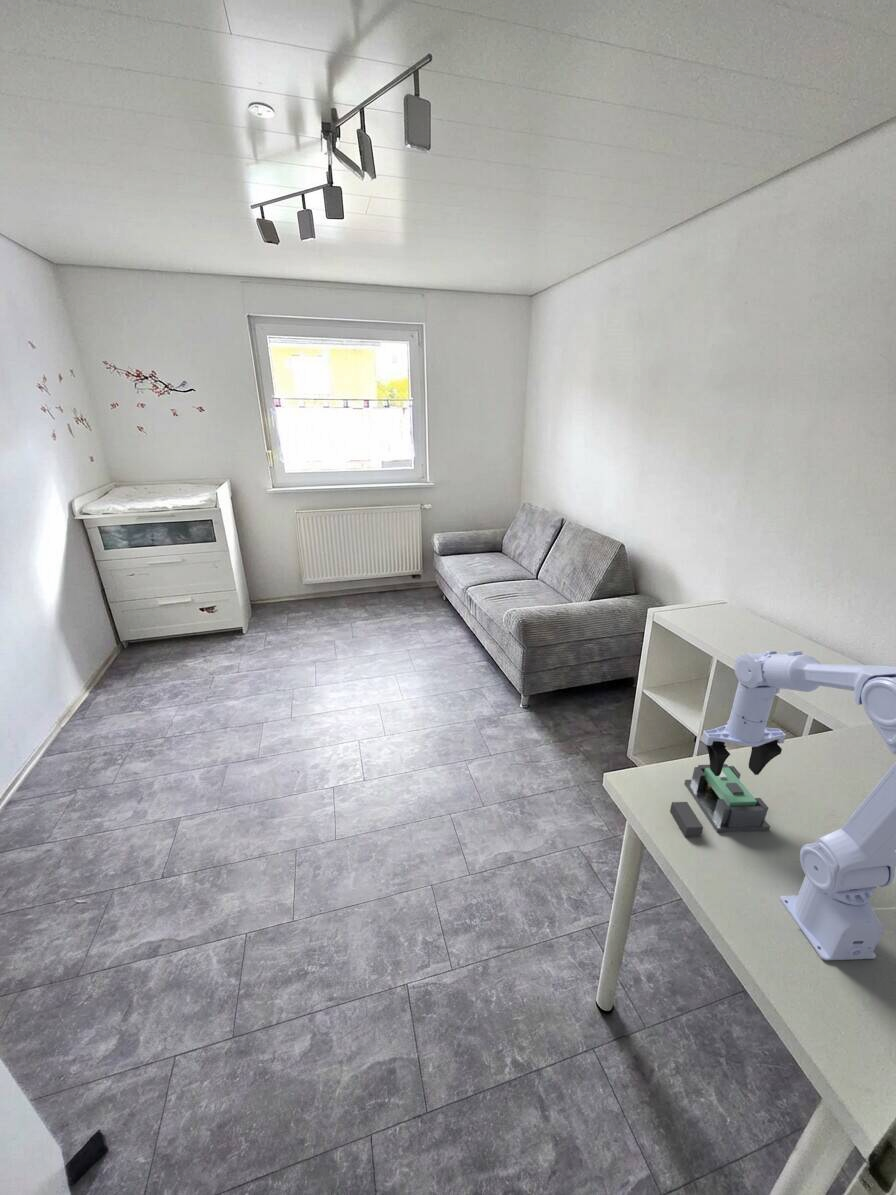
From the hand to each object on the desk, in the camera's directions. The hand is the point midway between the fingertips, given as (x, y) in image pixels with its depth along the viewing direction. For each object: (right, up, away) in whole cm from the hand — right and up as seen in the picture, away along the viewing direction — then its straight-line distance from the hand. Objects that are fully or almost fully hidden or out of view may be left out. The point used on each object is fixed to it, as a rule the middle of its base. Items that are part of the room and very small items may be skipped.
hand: (733, 771), depth 92 cm
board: (0, -5, +2) cm, 5 cm away
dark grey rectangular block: (-10, -10, -1) cm, 14 cm away
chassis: (0, -8, +3) cm, 9 cm away
